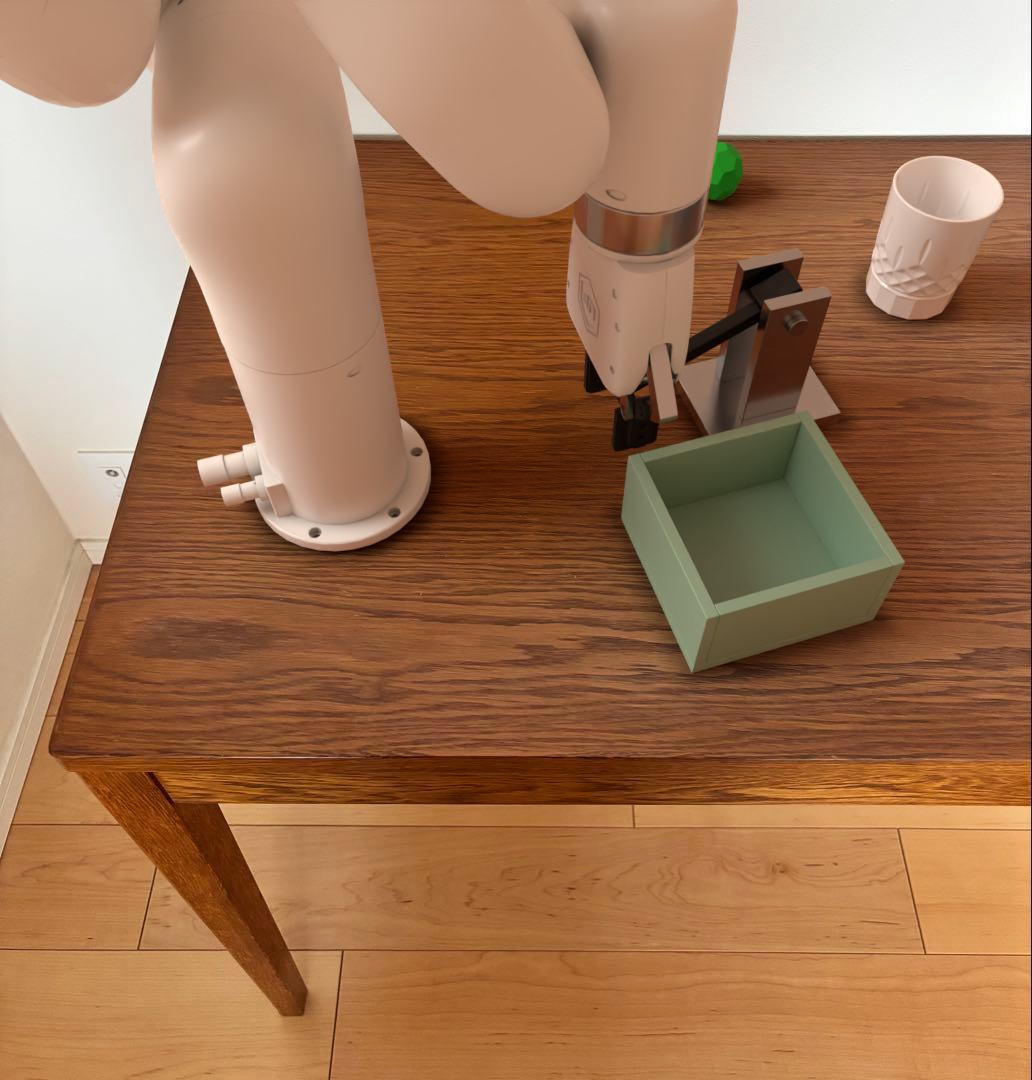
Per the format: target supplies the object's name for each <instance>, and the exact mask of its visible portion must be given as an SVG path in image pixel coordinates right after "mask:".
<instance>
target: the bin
mask: <svg viewBox="0 0 1032 1080" xmlns="http://www.w3.org/2000/svg"><path fill="white" fill-rule="evenodd" d="M620 520H621V522H622V524H623V526H624V528H625V531H626V533H627V535H628V537H629V539H630V541H631V544H632V545H633V548H634V550H635V552H636V555H637V557H638V558H639V561H640V563H641V566H642V567H643V569H644V572H645V574H646V577H647V578H648V581H649V582H650V585H651V588H652V590H653V591H654V594H655V596H656V598H657V600H658V602H659V605H660V607H661V609H662V611H663V614H664V616H665V618H666V620H667V623H668V624H669V627H670V628H671V631H672V634H673V636H674V637H675V640H676V642H677V644H678V646H679V648H680V651H681V653H682V655H683V657H684V659H685V661H686V664H687V666H688V668H689V670H690V673H691V674H694V673H697V672H701V671H704V670H708V669H711V668H715V667H718V666H721V665H724V664H728V663H732V662H735V661H738V660H741V659H745V658H749V657H752V656H755V655H759V654H762V653H766V652H769V651H773V650H776V649H779V648H782V647H786V646H789V645H793V644H797V643H800V642H803V641H806V640H810V639H813V638H816V637H821V636H824V635H826V634H830V633H834V632H838V631H840V630H844V629H847V628H850V627H854V626H857V625H861V624H864V623H867V622H871V621H874V619H875V617H876V615H877V613H878V612H879V610H880V608H881V606H882V605H883V603H884V601H885V599H886V598H887V596H888V594H889V593H890V591H891V589H892V587H893V585H894V584H895V581H897V580H896V579H897V577H898V576H899V575H900V572H901V571H902V569H903V568H904V565H905V563H906V561H905V560H904V558H903V557H902V555H901V554H900V552H899V550H898V548H897V547H896V546H895V544H894V543H893V541H892V540H891V537H889V535H888V533H887V531H886V530H885V529H884V527H883V526H882V524H881V522H880V521H879V519H878V518H877V515H875V513H874V511H873V510H872V508H871V507H870V505H869V503H868V502H867V501H866V498H865V497H864V496H863V495H862V493H861V491H860V489H859V488H858V487H857V485H856V483H855V482H854V480H853V479H852V477H851V476H850V474H849V473H848V470H846V467H845V466H844V465H843V463H842V462H841V460H840V458H839V457H838V456H837V454H836V452H835V451H834V449H833V448H832V446H831V444H830V443H829V441H828V440H827V438H826V437H825V435H824V433H823V432H822V431H821V429H820V427H818V426H817V424H816V423H815V421H814V420H813V418H812V416H811V415H810V413H809V412H808V411H803V412H799V413H797V414H791V415H788V416H784V417H780V418H776V419H772V420H768V421H764V422H760V423H756V424H752V425H748V426H745V427H741V428H737V429H733V430H729V431H725V432H721V433H717V434H713V435H709V436H705V437H703V436H701V437H698V438H694V439H690V440H686V441H682V442H677V443H674V444H670V445H666V446H662V447H659V448H655V449H651V450H647V451H642V452H640V453H635V454H631V455H628V456H627V463H626V473H625V480H624V489H623V498H622V507H621V515H620Z"/></svg>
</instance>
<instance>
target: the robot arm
mask: <svg viewBox="0 0 1032 1080" xmlns="http://www.w3.org/2000/svg"><path fill="white" fill-rule="evenodd" d="M738 4H739V3H738V0H0V80H1V81H2V82H4V83H6V84H7V85H9V86H10V87H12V88H14V89H16V90H18V91H20V92H22V93H24V94H26V95H29V96H31V97H33V98H35V99H38V100H40V101H43V102H45V103H47V104H50V105H55V106H59V107H66V108H71V109H82V108H95V107H100V106H103V105H105V104H108V103H110V102H113V101H115V100H117V99H119V98H120V97H122V96H123V95H124V94H126V93H127V92H128V91H129V90H131V89H132V88H133V86H134V85H135V84H136V83H137V81H138V80H139V79H140V77H141V75H142V74H143V72H144V71H145V70H148V71H149V72H150V73H152V81H151V104H150V105H151V111H150V112H151V113H150V115H151V116H150V137H151V139H150V140H151V156H152V166H153V172H154V179H155V184H156V190H157V194H158V197H159V201H160V204H161V207H162V210H163V213H164V215H165V218H166V220H167V222H168V225H169V228H170V229H171V231H172V233H173V235H174V237H175V239H176V241H177V243H178V245H179V247H180V249H181V251H182V252H183V254H184V256H185V258H186V261H188V264H189V266H190V268H191V270H192V271H193V274H194V276H195V278H196V280H197V282H198V284H199V287H200V289H201V291H202V294H203V297H204V299H205V302H206V305H207V307H208V309H209V313H210V315H211V319H212V321H213V323H214V326H215V329H216V331H217V334H218V337H219V339H220V342H221V344H222V346H223V348H224V351H225V354H226V356H227V359H228V361H229V364H230V367H231V370H232V373H233V376H234V378H235V381H236V384H237V386H238V387H237V388H238V390H239V392H240V395H241V398H242V400H243V404H244V406H245V409H246V411H247V414H248V418H249V419H250V423H251V425H252V428H253V429H252V431H253V435H254V442H250V443H247V444H243V445H242V451H237V452H233V453H228V454H225V455H224V453H222V454H218V455H214V456H210V457H206V458H201V459H198V460H197V461H196V462H197V469H198V472H199V476H200V477H199V478H200V480H201V482H202V485H203V486H204V488H207V487H211V486H215V485H219V484H223V483H229V482H232V481H231V480H234V479H239V478H244V477H247V476H249V477H250V479H251V481H248V482H247V481H246V482H242V483H240V482H238V483H233V484H230V485H226V486H222V487H220V493H221V497H222V498H221V499H222V500H223V503H224V506H225V507H226V508H229V507H231V506H237V505H240V504H244V503H245V502H248V501H253V500H254V501H255V504H256V506H257V509H258V512H259V513H260V515H261V516H262V519H263V520H264V522H265V523H266V524H267V526H269V528H270V529H271V530H273V532H274V533H276V534H277V535H278V536H280V537H282V538H283V539H285V540H286V541H287V542H290V543H292V544H295V545H296V546H299V547H302V548H307V549H311V550H315V551H324V552H326V551H327V552H342V551H343V552H344V551H351V550H356V549H360V548H361V549H362V548H365V547H369V546H371V545H375V544H376V543H378V542H381V541H383V540H385V539H387V538H389V537H390V536H392V535H394V534H395V533H397V532H398V531H400V530H402V528H403V527H404V526H406V525H407V524H408V523H409V522H411V520H412V519H413V518H414V517H415V516H416V514H417V513H418V512H419V510H420V509H421V508H422V507H423V505H424V503H425V500H426V498H427V496H428V494H429V491H430V486H431V482H432V465H431V461H430V454H429V450H428V448H427V446H426V443H425V441H424V439H423V438H422V437H421V436H420V434H419V432H418V431H417V430H416V429H415V428H414V427H413V426H412V425H411V424H410V423H409V422H408V421H406V420H405V419H403V418H401V415H400V409H399V403H398V397H397V393H396V386H395V381H394V375H393V369H392V363H391V357H390V351H389V346H388V340H387V339H388V338H387V334H386V328H385V323H384V317H383V311H382V306H381V299H380V293H379V288H378V284H377V283H378V282H377V277H376V271H375V267H374V260H373V255H372V248H371V242H370V237H369V229H368V223H367V216H366V208H365V207H366V206H365V198H364V191H363V184H362V177H361V171H360V164H359V160H358V153H357V149H356V144H355V139H354V133H353V129H352V128H353V127H352V122H351V118H350V113H349V107H348V102H347V97H346V91H345V88H344V85H343V80H342V76H341V70H342V72H343V73H344V75H345V76H346V77H347V78H348V79H349V80H350V82H351V83H352V84H353V86H354V87H355V88H356V89H357V90H358V91H359V92H360V94H361V95H362V96H363V98H365V100H366V101H367V102H368V103H369V104H370V105H371V106H372V108H373V109H375V111H376V112H377V114H378V115H380V116H381V118H382V119H384V120H385V122H386V123H387V124H388V125H389V126H390V127H391V129H393V130H394V131H395V132H396V133H397V134H398V135H399V136H400V137H401V138H402V139H403V140H404V141H405V142H406V143H407V144H408V145H410V147H411V148H412V149H414V150H415V152H416V153H417V154H419V155H420V156H421V158H422V159H424V160H425V161H426V162H427V163H428V164H429V165H430V167H432V168H433V169H434V170H435V171H436V172H437V173H438V174H439V175H440V176H441V177H442V178H443V179H444V180H445V181H447V183H449V184H450V186H452V187H453V188H454V189H456V190H457V191H458V192H459V193H460V194H462V195H463V196H464V197H466V198H467V199H468V200H470V201H471V202H472V203H475V204H476V205H478V206H480V207H482V208H484V209H485V210H487V211H490V212H493V213H496V214H499V215H501V216H504V217H505V216H506V217H512V218H518V219H523V218H524V219H534V218H539V217H544V216H545V217H546V216H549V215H552V214H554V213H557V212H559V211H562V210H564V209H566V208H567V207H569V206H570V205H573V219H572V226H571V233H570V241H569V251H568V252H569V253H568V266H567V277H566V278H567V279H566V290H565V291H566V292H565V302H566V308H567V311H568V313H569V317H570V318H571V322H572V324H573V326H574V328H575V330H576V332H577V334H578V336H579V338H580V341H581V344H583V346H584V349H585V350H584V368H583V388H584V390H585V392H586V393H587V394H589V395H591V394H595V393H600V392H604V391H608V392H609V393H610V394H612V395H613V396H614V397H616V396H617V397H620V404H619V406H618V407H617V408H614V412H613V424H612V433H611V447H612V449H613V451H614V452H615V453H620V452H624V451H628V450H631V449H632V450H633V449H639V448H643V447H646V446H647V445H651V444H654V443H655V442H656V441H657V439H658V433H659V426H660V424H663V423H667V422H670V421H675V420H678V418H679V412H678V405H677V398H676V393H675V392H676V391H675V385H674V383H676V382H677V381H678V380H679V378H680V376H681V374H682V371H683V368H684V366H685V365H686V364H685V360H686V355H687V350H688V343H689V338H690V337H691V336H690V335H691V326H692V318H693V306H694V288H695V258H696V257H695V256H696V254H695V245H696V244H697V242H698V241H699V239H701V236H702V234H703V230H704V226H705V218H706V213H707V207H708V201H709V199H708V195H709V189H710V183H711V175H712V169H713V163H714V157H715V151H716V145H717V142H718V139H719V134H720V126H721V121H722V116H723V115H722V114H723V108H724V103H725V97H726V91H727V85H728V79H729V74H730V73H729V72H730V67H731V61H732V54H733V50H734V44H735V36H736V31H737V23H738V16H739V15H738V13H739V6H738ZM340 69H341V70H340ZM684 364H685V365H684ZM645 384H648V386H647V387H648V392H649V395H645V396H641V397H636V399H633V392H634V391H635V390H636V388H637V387H638V386H641V385H645Z"/></svg>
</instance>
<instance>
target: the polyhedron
mask: <svg viewBox="0 0 1032 1080" xmlns="http://www.w3.org/2000/svg"><path fill="white" fill-rule="evenodd" d="M743 175H744V166H743V159H742V155H741V153H740V152H739V150H737V149H736V148H735V146H734V145H733V144H731V143H729V142H723V141H717V145H716V151H715V157H714V163H713V169H712V175H711V183H710V189H709V195H708V200H711V201H723V200H725V199H726V198H728V197H730V196H732V195H733V194H734V192H735V191H736V190H737V188H738V187H739V185H740V183H741V180H742V179H743Z"/></svg>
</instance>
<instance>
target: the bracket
mask: <svg viewBox="0 0 1032 1080" xmlns="http://www.w3.org/2000/svg"><path fill="white" fill-rule="evenodd" d="M804 260H805V256H804V255H803V253H802V251H801V250H800V249H799V247H793V248H790V249H785V250H781V251H776V252H771V253H767V254H763V255H760V256H759V255H758V256H755V257H750V258H746V259H742V260H738V261H737V264H736V269H735V273H734V278H733V284H732V289H731V293H730V297H729V302H728V308H727V311H726V312H727V313H726V317H727V316H729V315H730V314H732V313H734V312H736V311H737V310H739V309H741V308H743V307H744V306H746V305H748V304H750V303H751V302H753V301H754V300H753V297H752V294H751V292H750V288H751V287H753V286H755V285H756V284H758V283H760V282H762V281H763V280H765V279H767V278H769V277H770V276H772V275H774V274H776V273H777V272H779V271H781V270H783V269H784V268H786V267H788V268H789V270H790V271H791V273H792V274H793V276H794V277H795V278H796V280H797V281H798V282H799V278H800V275H801V274H800V273H801V270H802V266H803V263H804V262H803V261H804ZM832 297H833V294H832V293H831V291H830V290H829V289H828V287H827V286H826V285H822V286H819V287H815V288H810V289H806V290H803V291H801V292H797V293H793V294H789V295H784V296H780V297H776V298H772V299H767V300H764V302H763V306H762V311H761V315H760V319H759V323H757V324H755V325H753V326H752V327H750V328H748V329H746V330H745V331H743V332H741V333H739V334H738V335H736V336H734V337H732V338H730V339H729V340H727V341H725V342H723V343H722V344H720V345H719V349H718V350H719V351H718V356H717V357H715V358H710V359H706V360H702V361H698V362H693V363H690V364H685V365H684V368H683V371H682V374H681V376H680V378H679V380H678V381H677V382H676V383H673V386H674V388H675V389H676V391H677V392H678V394H679V396H680V398H681V400H682V402H683V403H684V405H685V408H686V409H687V411H688V412H689V415H690V416H691V418H692V420H693V422H694V423H695V425H696V427H697V430H698V431H699V433H700V435H701V437H705V436H709V435H713V434H717V433H721V432H725V431H729V430H733V429H737V428H741V427H745V426H748V425H752V424H756V423H760V422H764V421H768V420H772V419H776V418H780V417H784V416H788V415H791V414H797V413H799V412H803V411H808V412H809V413H810V415H811V416H812V418H813V420H814V421H815V423H816V424H817V426H818V427H819V428H823V427H827V426H831V425H834V424H835V425H836V424H837V423H838V421H839V419H840V417H841V410H840V409H839V407H838V406H837V404H836V403H835V402H834V399H832V397H831V395H830V394H829V392H828V391H827V389H826V387H825V386H824V384H823V383H822V381H821V380H820V379H819V377H818V376H817V375H816V373H815V371H814V369H813V368H812V367H811V363H812V361H813V357H814V355H815V351H816V348H817V344H818V342H819V338H820V335H821V331H822V330H823V329H822V328H823V327H824V326H823V325H824V322H825V319H826V316H827V313H828V310H829V307H830V303H831V301H832Z"/></svg>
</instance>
